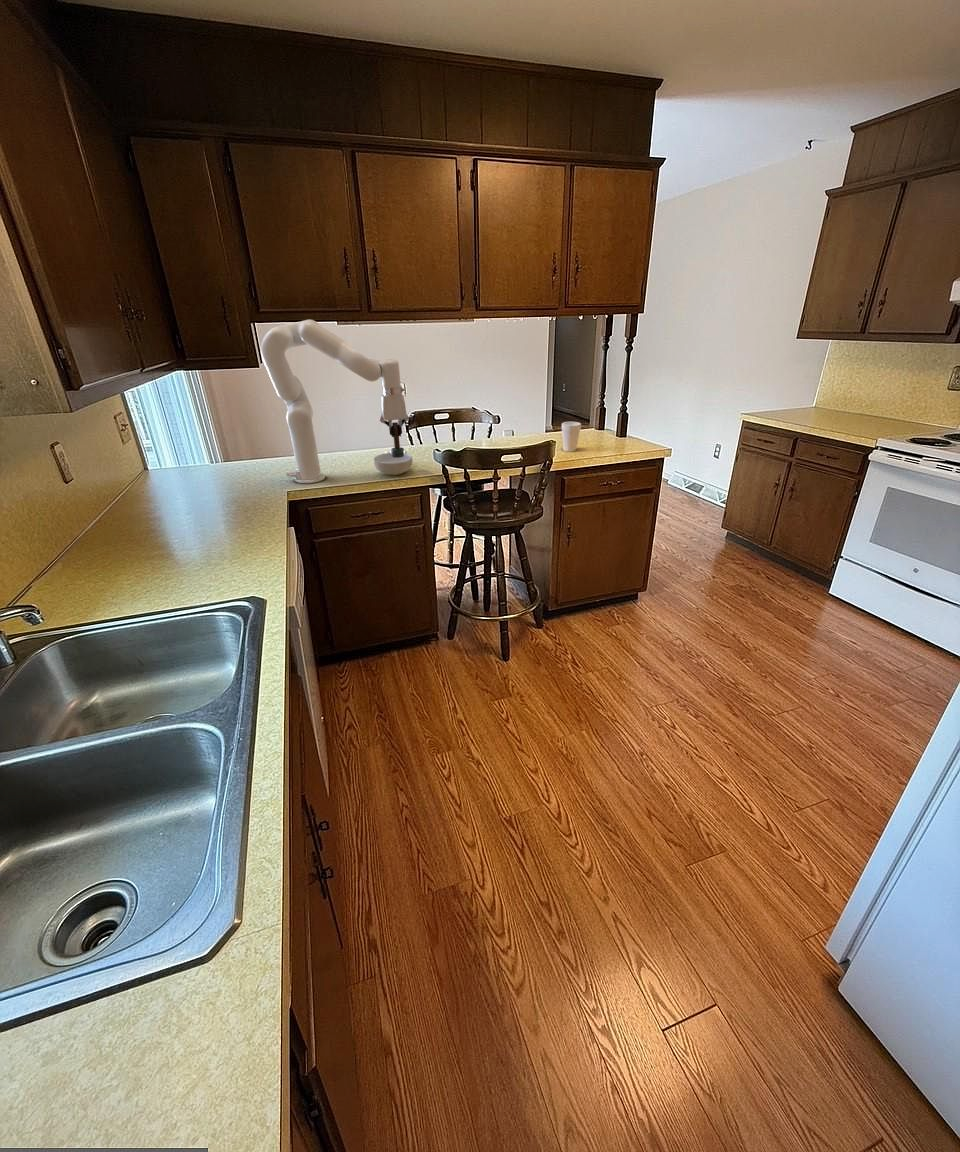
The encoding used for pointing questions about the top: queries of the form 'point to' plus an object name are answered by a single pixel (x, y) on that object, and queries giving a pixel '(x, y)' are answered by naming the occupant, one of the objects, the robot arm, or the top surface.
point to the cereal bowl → (393, 463)
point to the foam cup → (570, 435)
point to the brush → (396, 443)
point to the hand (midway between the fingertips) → (396, 435)
